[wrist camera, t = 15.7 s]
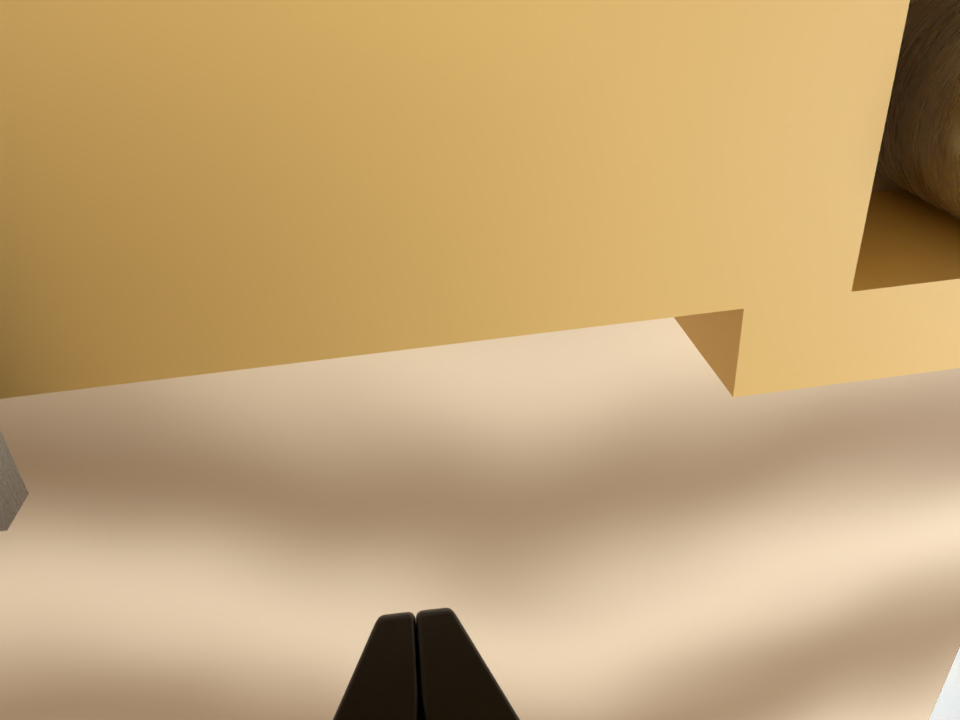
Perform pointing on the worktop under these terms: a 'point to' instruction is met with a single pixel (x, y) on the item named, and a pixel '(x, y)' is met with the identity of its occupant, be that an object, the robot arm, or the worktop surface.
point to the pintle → (926, 107)
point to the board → (487, 534)
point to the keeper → (9, 487)
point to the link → (457, 185)
